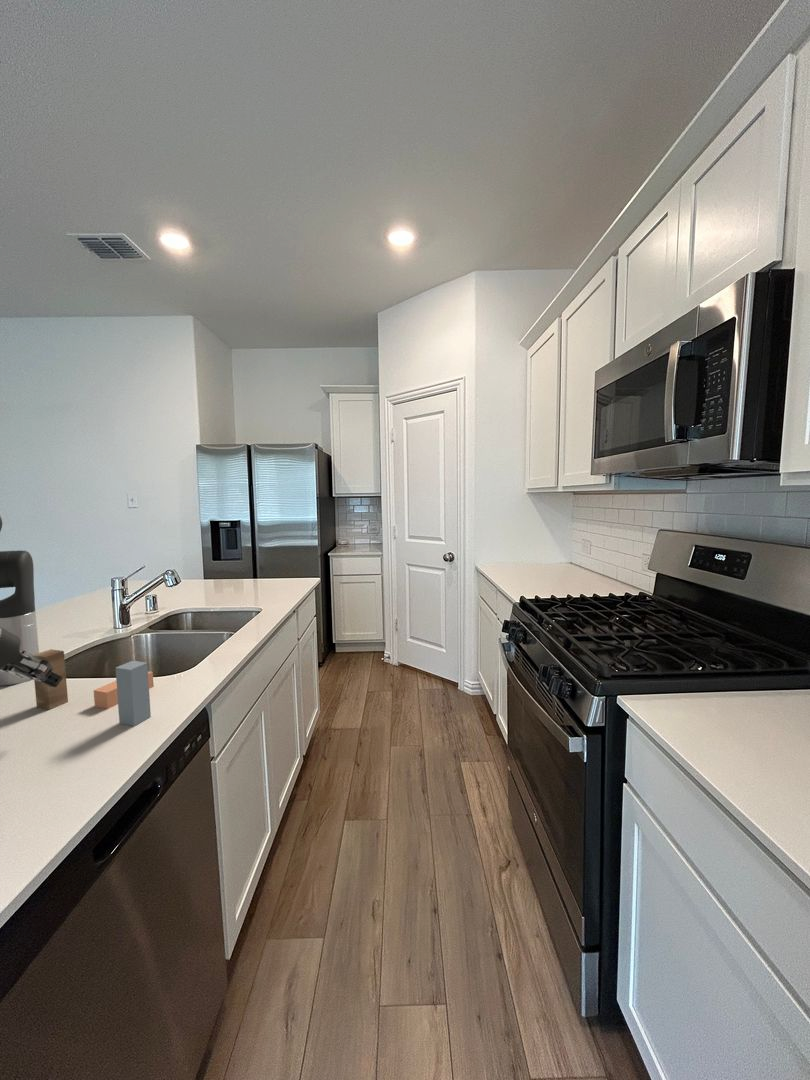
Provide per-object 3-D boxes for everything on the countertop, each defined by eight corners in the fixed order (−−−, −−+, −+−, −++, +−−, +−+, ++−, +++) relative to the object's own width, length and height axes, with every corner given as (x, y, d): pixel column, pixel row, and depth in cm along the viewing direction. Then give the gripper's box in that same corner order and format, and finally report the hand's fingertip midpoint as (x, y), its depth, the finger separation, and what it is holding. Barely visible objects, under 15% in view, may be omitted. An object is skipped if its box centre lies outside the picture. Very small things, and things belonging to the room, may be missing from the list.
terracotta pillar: (93, 690, 99) (140, 669, 111) (94, 707, 100) (141, 685, 111) (106, 692, 98) (152, 671, 109) (108, 710, 98) (153, 687, 110)
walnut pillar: (36, 707, 99) (32, 655, 98) (55, 699, 103) (51, 649, 102) (49, 709, 98) (45, 657, 97) (68, 701, 102) (63, 651, 101)
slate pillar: (119, 723, 92) (115, 667, 91) (136, 714, 96) (132, 660, 95) (134, 726, 91) (130, 669, 90) (150, 716, 95) (147, 662, 94)
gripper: (20, 627, 77) (93, 668, 90) (-32, 620, 81) (45, 661, 94) (-13, 668, 72) (68, 705, 85) (-66, 659, 76) (20, 696, 89)
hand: (56, 682), depth 90 cm, fingers closed
